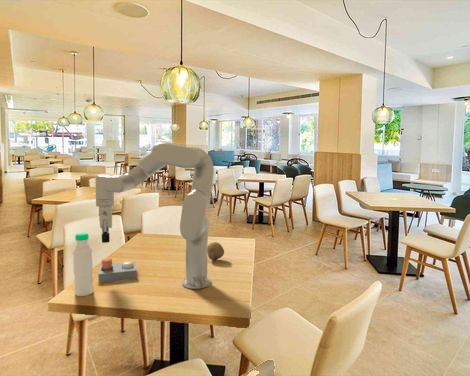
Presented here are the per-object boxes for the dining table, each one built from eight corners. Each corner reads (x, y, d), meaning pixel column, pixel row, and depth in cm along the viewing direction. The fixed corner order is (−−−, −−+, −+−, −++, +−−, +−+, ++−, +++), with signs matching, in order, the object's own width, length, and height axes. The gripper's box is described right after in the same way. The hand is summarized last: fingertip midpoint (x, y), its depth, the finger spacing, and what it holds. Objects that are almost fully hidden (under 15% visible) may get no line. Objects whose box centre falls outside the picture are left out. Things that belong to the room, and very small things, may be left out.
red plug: (112, 270, 152) (111, 261, 151) (101, 271, 150) (101, 262, 150) (112, 267, 156) (112, 258, 155) (102, 268, 154) (101, 259, 154)
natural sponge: (224, 258, 182) (224, 240, 181) (223, 263, 173) (223, 245, 172) (207, 257, 182) (208, 239, 181) (206, 263, 173) (206, 244, 172)
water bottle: (88, 287, 142) (86, 230, 138) (96, 292, 137) (94, 233, 134) (71, 293, 136) (68, 233, 133) (79, 298, 132) (77, 237, 129)
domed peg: (132, 273, 155) (132, 264, 154) (123, 274, 154) (122, 265, 153) (132, 270, 159) (132, 261, 159) (122, 271, 158) (122, 262, 157)
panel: (136, 278, 152) (136, 270, 152) (98, 282, 147) (98, 274, 146) (135, 269, 163) (134, 261, 163) (99, 272, 158) (99, 264, 157)
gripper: (113, 205, 143) (114, 246, 146) (114, 199, 157) (114, 237, 160) (94, 205, 141) (95, 247, 143) (96, 199, 155) (97, 238, 157)
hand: (105, 241), depth 151 cm, fingers closed
